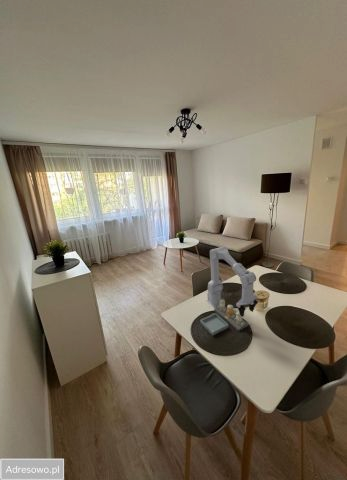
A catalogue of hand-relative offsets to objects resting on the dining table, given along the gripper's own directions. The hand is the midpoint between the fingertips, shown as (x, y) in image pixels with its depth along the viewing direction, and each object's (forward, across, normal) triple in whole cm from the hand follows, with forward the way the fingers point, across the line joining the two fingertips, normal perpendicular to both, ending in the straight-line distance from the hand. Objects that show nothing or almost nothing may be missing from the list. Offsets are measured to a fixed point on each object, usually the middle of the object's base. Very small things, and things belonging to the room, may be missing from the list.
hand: (246, 313), depth 109 cm
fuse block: (+10, -2, +11) cm, 15 cm away
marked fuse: (+8, -2, +11) cm, 14 cm away
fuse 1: (+8, -2, +18) cm, 20 cm away
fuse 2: (+8, -2, +4) cm, 9 cm away
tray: (+10, -15, +11) cm, 21 cm away
